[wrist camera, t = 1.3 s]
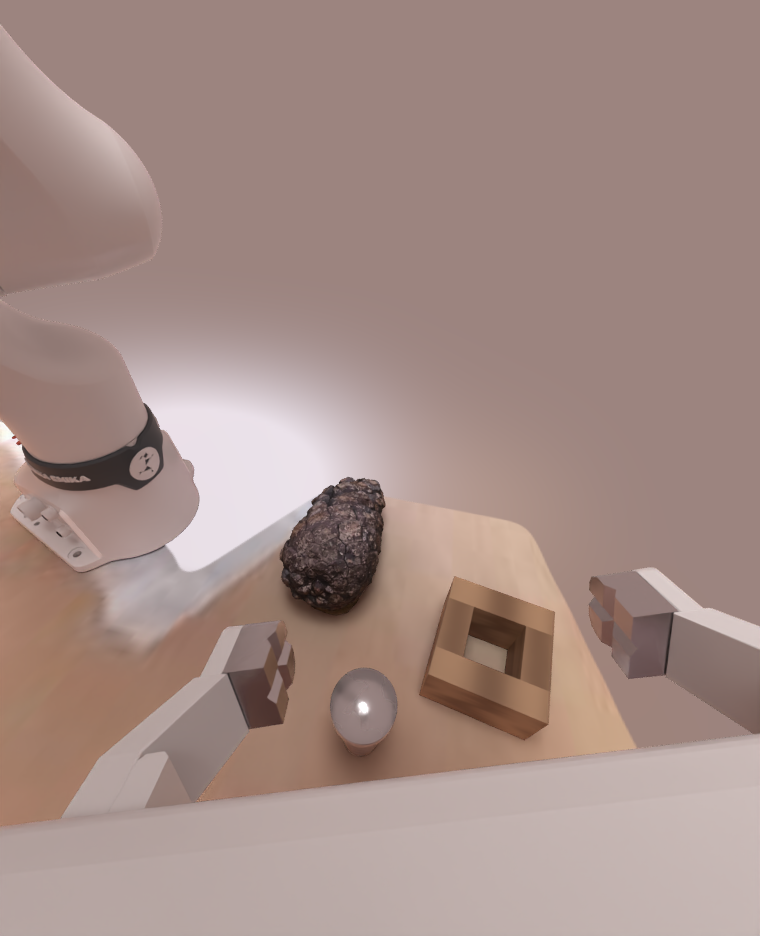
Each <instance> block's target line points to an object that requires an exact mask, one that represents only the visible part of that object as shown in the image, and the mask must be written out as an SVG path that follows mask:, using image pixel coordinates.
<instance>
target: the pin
mask: <svg viewBox="0 0 760 936" xmlns="http://www.w3.org/2000/svg"><path fill="white" fill-rule="evenodd" d="M330 710H331V719H332V723H333V726H334V728H335V730H336V732H337V733H338V735H339V736H340V737H341V738H342V739H343V740H344V744H345V746H346V748H347V749H348V751H349V752H350V753H352V754H354V755H356V756H365V755H367V754H369V753H370V752H372V751H373V749H374V748H375V747H376V745H377V744H378V743H379V742H381V741H382V740H383V739H384V738H385V737H386V736H387V735H388V733H389V732H390V730H391V728H392V727H393V724H394V721H395V718H396V714H397V697H396V693H395V690H394V688H393V686H392V684H391V682H390V681H389V680H388V679H387V677H385V676H384V675H383V674H382V673H380V672H379V671H377V670H374V669H370V668H358V669H355V670H352V671H350V672H348V673H347V674H345V675H344V676H343V677H342V678H341V679H340V680H339V681H338V683H337V684H336V686H335V688H334V690H333V693H332V697H331V703H330Z"/></svg>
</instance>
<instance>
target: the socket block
mask: <svg viewBox="0 0 760 936" xmlns="http://www.w3.org/2000/svg"><path fill="white" fill-rule="evenodd" d="M554 618H555V612H554V611H551V610H548V609H545V608H542V607H540V606H537V605H534V604H531V603H528V602H526V601H523V600H520V599H517V598H514V597H512V596H509V595H506V594H503V593H500V592H498V591H495V590H492V589H489V588H486V587H484V586H481V585H478V584H475V583H472V582H470V581H467V580H464V579H461V578H458V577H456V576H455V577H454V579H453V582H452V584H451V587H450V590H449V592H448V595H447V598H446V600H445V603H444V606H443V610H442V614H441V617H440V621H439V625H438V628H437V632H436V636H435V639H434V643H433V647H432V650H431V654H430V657H429V661H428V665H427V668H426V672H425V676H424V679H423V683H422V687H421V690H420V694H419V695H421V696H424V697H426V698H428V699H431V700H433V701H435V702H438V703H440V704H442V705H445V706H447V707H449V708H451V709H454V710H456V711H458V712H461V713H463V714H465V715H468V716H470V717H472V718H475V719H477V720H479V721H482V722H484V723H486V724H489V725H491V726H493V727H495V728H498V729H500V730H502V731H505V732H507V733H509V734H512V735H514V736H516V737H519V738H521V739H523V740H525V739H527V738H528V737H530V736H531V735H533V734H534V733H536V732H537V731H539V730H540V729H542V728H544V727H545V726H547V725H548V723H549V706H550V688H551V671H552V653H553V636H554ZM468 635H471V636H473V637H476V638H479V639H481V640H484V641H486V642H489V643H492V644H494V645H497V646H499V647H502V648H504V649H507V650H508V652H507V659H506V666H505V674H504V673H502V672H499V671H497V670H494V669H492V668H489V667H487V666H484V665H482V664H479V663H477V662H474V661H472V660H469V659H467V658H464V657H463V655H464V651H465V646H466V641H467V637H468Z"/></svg>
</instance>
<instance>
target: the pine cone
mask: <svg viewBox="0 0 760 936" xmlns="http://www.w3.org/2000/svg"><path fill="white" fill-rule="evenodd" d="M311 502H312V505H313V506H312V507H311V508H310V509H309V510H308V512H307V516H305V517H304V518H303V519H302V520H300V521H299V522H298V524H297V525H296V526H295V527H294V529H293V530H292V534H291V536H290V539H289V540H287V541H286V543H285V545H284V548H283V549H282V550H281V553H280V560H281V561H282V562H283V566H284V569H283V571H282V577H281V578H282V581H283V583H284V584H285V585H286V586H287V587H290V588H291V591H292V595H293V597H294V598H295V599H303V600H304V601H306V602H307V603H308V604H310V605H311V606H312V607H313V608H315V609H318V610H320V611H323V612H325V613H328V614H333V615H339V614H343V613H347V612H348V611H349V610H350V609H351V608H352V607H353V606H354V605H355V604H356V603H357V601H358V599H359V597H360V596H361V595H362V593H363V591H364V590H365V589H366V588H367V586H368V585H369V584H370V583H371V582H372V577H373V575H374V573H375V571H376V566H377V564H378V555H379V553H380V552H381V550H380V545H381V541H382V540H381V534H382V531H383V525H384V524H383V519H382V517H381V512H382V509H383V508H384V507H385V501H384V497H383V492H382V491H381V489H380V484H379V483H378V482H377V481H376V480H369V479H365V478H363V479H357V481H355V480H353V478H350V477H347V478H345V479H342V480H340V482H339V484H338V485H336V486H335V487H334V486H332V485H330V486H329V487H328V488H325V489H324V490H323V492H322V493H321V494H320V495H319V496H318V497H316V498H314V499H313V500H312V501H311Z"/></svg>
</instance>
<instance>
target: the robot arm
mask: <svg viewBox="0 0 760 936" xmlns="http://www.w3.org/2000/svg"><path fill="white" fill-rule="evenodd" d="M161 234H162V212H161V206H160V201H159V198H158V195H157V192H156V189H155V186H154V184H153V182H152V180H151V177H150V175H149V173H148V172H147V170H146V168H145V167H144V165H143V163H142V162H141V160H140V159H139V158H138V156H137V155H136V154H135V152H134V151H133V150H132V148H131V147H130V146H129V145H128V144H127V143H126V142H125V140H123V139H122V137H120V136H119V135H118V134H117V133H116V132H115V131H114V130H113V129H112V128H111V127H109V126H108V125H107V124H106V123H105V122H103V121H102V120H100V119H99V118H97V117H96V116H94V115H93V114H91V113H90V112H88V111H87V110H85V109H84V108H82V107H81V106H80V105H79V104H78V103H76V102H75V101H73V100H72V99H71V98H70V97H69V96H68V95H66V94H65V93H64V92H63V91H62V90H61V89H60V88H58V87H57V86H56V85H55V84H54V83H53V82H52V81H51V80H50V79H49V78H48V77H47V76H46V75H45V74H44V73H43V72H42V71H41V70H40V69H39V68H38V67H37V66H36V65H35V64H34V63H33V62H32V61H31V60H30V59H29V58H28V57H27V56H26V54H25V53H24V52H23V51H22V50H21V48H20V47H19V46H18V45H17V44H16V43H15V42H14V40H13V39H12V38H11V37H10V35H9V34H8V33H7V32H6V30H5V29H4V28H3V27H2V25H1V24H0V298H1V297H3V296H7V294H10V293H16V292H22V291H29V290H35V289H42V288H48V287H54V286H61V285H67V284H73V283H80V282H86V281H92V280H98V279H103V278H106V277H108V276H111V275H114V274H117V273H120V272H122V271H125V270H128V269H130V268H132V267H135V266H137V265H140V264H142V263H144V262H147V261H149V260H152V259H153V257H154V255H155V253H156V252H157V249H158V246H159V244H160V239H161ZM0 419H1V420H2V421H3V422H4V424H5V425H6V426H7V427H8V428H9V429H10V430H11V432H12V433H13V434H14V435H15V436H13V437H12V439H15V438H17V439H18V440H19V441H18V442H17V443H16V444H17V445H20V444H22V450H23V453H24V455H25V458H24V459H25V461H26V462H25V463H24V464H23V465H22V466H21V467H20V468H19V470H18V471H17V473H16V474H15V477H14V484H15V485H16V487H17V488H18V489H19V490H20V492H21V493H22V495H21V496H20V497H19V498H18V499H17V501H16V502H15V503H14V505H13V507H12V509H11V511H10V513H11V515H12V516H13V517H14V519H15V520H16V521H18V522H19V523H20V524H21V525H22V526H23V527H24V528H26V529H27V530H28V531H29V532H30V533H32V534H33V535H34V536H35V537H36V538H37V539H39V540H40V541H41V542H42V543H43V544H44V545H46V546H47V547H48V548H49V549H50V550H51V551H53V552H54V553H55V554H56V555H57V556H59V557H60V558H61V559H62V560H63V561H64V562H66V563H67V564H68V565H69V566H70V567H71V568H73V569H74V570H75V571H77V572H85V571H89V570H91V569H94V568H96V567H99V566H101V565H103V564H105V563H107V562H110V561H114V560H119V559H126V558H132V557H136V556H140V555H143V554H146V553H149V552H151V551H154V550H156V549H158V548H160V547H162V546H164V545H165V544H167V543H169V542H170V541H172V540H173V539H174V538H176V537H177V536H178V535H179V534H180V533H182V532H183V531H184V529H186V527H187V526H188V525H189V524H190V523H191V521H192V520H193V518H194V516H195V514H196V512H197V509H198V506H199V493H198V490H197V488H196V486H195V484H194V482H193V475H194V467H193V465H192V463H191V462H190V461H189V460H184V459H182V457H181V456H180V454H179V452H178V450H177V449H176V447H175V445H174V443H173V442H172V440H171V438H170V437H169V435H168V433H167V432H165V431H164V430H160V428H159V424H158V421H157V419H156V417H155V416H154V415H153V414H152V412H151V410H150V408H149V407H148V406H147V405H146V404H145V403H143V402H142V399H141V397H140V395H139V393H138V391H137V389H136V386H135V384H134V382H133V379H132V378H131V375H130V373H129V371H128V369H127V366H126V364H125V362H124V360H123V358H122V356H121V354H120V353H119V351H118V350H117V349H116V348H115V347H114V346H113V345H112V344H111V343H110V342H108V341H107V340H106V339H104V338H103V337H101V336H99V335H97V334H96V333H93V332H91V331H89V330H86V329H84V328H81V327H78V326H74V325H70V324H65V323H60V322H54V321H48V320H43V319H39V318H36V317H33V316H30V315H27V314H25V313H22V312H20V311H18V310H16V309H14V308H13V307H11V306H9V305H8V304H6V303H5V302H4V301H3V300H1V299H0ZM79 555H80V556H79ZM77 556H78V557H77ZM589 590H590V591H591V593H592V594H593V595H594V598H593V599H592V600H591V602H590V603H589V617H590V621H591V625H592V627H593V629H594V631H595V633H596V635H597V636H598V638H599V639H600V640H601V642H602V643H604V644H606V645H608V646H610V647H612V657H613V659H614V660H615V662H616V663H617V664H618V666H619V667H620V668H621V670H622V671H623V673H624V674H625V675H626V677H627V678H628V679H633V678H643V677H652V676H663V675H666V677H667V678H668V679H670V680H671V681H673V682H674V683H676V684H677V685H679V686H680V687H682V688H684V689H685V690H687V691H688V692H690V693H691V694H693V695H694V696H696V697H697V698H699V699H701V700H702V701H704V702H705V703H707V704H708V705H710V706H712V707H713V708H714V709H716V710H717V711H719V712H720V713H722V714H724V715H725V716H727V717H728V718H730V719H731V720H733V721H734V722H736V723H738V724H739V725H740V726H742V727H744V728H745V729H747V730H748V731H750V732H751V733H753V734H751V735H742V736H735V737H727V738H718V739H710V740H702V741H693V742H685V743H677V744H668V745H661V746H652V747H644V748H636V749H628V750H619V751H611V752H603V753H595V754H587V755H578V756H570V757H562V758H554V759H546V760H538V761H529V762H521V763H513V764H505V765H497V766H489V767H480V768H472V769H464V770H456V771H448V772H439V773H431V774H423V775H415V776H407V777H398V778H390V779H382V780H374V781H366V782H358V783H349V784H341V785H333V786H325V787H317V788H309V789H300V790H292V791H284V792H276V793H268V794H260V795H251V796H243V797H235V798H227V799H219V800H211V801H202V802H196V801H197V799H198V798H199V797H200V795H201V794H202V793H203V791H204V790H205V789H206V788H207V786H208V785H209V784H210V782H211V781H212V780H213V778H214V777H215V776H216V774H217V773H218V772H219V770H220V769H221V768H222V767H223V765H224V764H225V763H226V761H227V760H228V759H229V757H230V756H231V755H232V753H233V752H234V751H235V749H236V748H237V747H238V746H239V744H240V743H241V742H242V740H243V739H244V738H245V736H246V735H247V734H248V732H249V729H254V728H260V727H266V726H272V725H278V724H283V722H284V717H285V713H286V709H287V705H288V700H289V698H288V695H287V692H286V690H287V689H288V688H289V687H290V685H291V684H292V683H293V678H294V673H295V659H294V652H293V649H292V645H291V644H289V643H288V642H287V641H285V639H286V636H287V629H286V626H285V623H284V622H283V621H281V620H280V621H271V622H263V623H254V624H246V625H240V626H232V627H227V628H226V629H224V630H223V632H222V634H221V636H220V638H219V640H218V642H217V644H216V646H215V648H214V650H213V652H212V654H211V656H210V658H209V660H208V662H207V664H206V666H205V668H204V670H203V672H202V674H201V676H200V677H198V678H193V679H192V680H191V681H190V682H189V683H188V684H186V685H185V686H184V687H183V688H182V689H180V690H179V691H178V692H177V693H176V694H174V695H173V696H172V697H171V698H170V699H168V700H167V701H166V702H165V703H164V704H163V705H161V706H160V707H159V708H158V709H157V710H155V711H154V712H153V713H152V714H151V715H149V716H148V717H147V718H146V719H145V720H144V721H142V722H141V723H140V724H139V725H138V726H136V727H135V728H134V729H133V730H132V731H130V732H129V733H128V734H127V735H126V736H124V737H123V738H122V739H121V740H120V741H119V742H117V743H116V744H115V745H114V746H113V747H111V748H110V749H109V750H108V751H107V752H105V753H104V754H103V755H102V756H101V757H100V758H99V759H98V760H97V762H96V763H95V765H94V767H93V768H92V770H91V771H90V773H89V774H88V776H87V778H86V779H85V781H84V782H83V784H82V785H81V787H80V788H79V790H78V792H77V793H76V795H75V796H74V798H73V799H72V801H71V803H70V804H69V806H68V807H67V809H66V810H65V812H64V813H63V815H62V817H61V818H60V819H56V820H48V821H40V822H31V823H23V824H15V825H7V826H0V936H760V627H759V626H757V625H754V624H752V623H749V622H746V621H743V620H741V619H738V618H736V617H733V616H730V615H728V614H725V613H722V612H720V611H717V610H714V609H712V608H705V609H703V608H702V607H701V606H700V605H699V604H697V603H696V602H695V601H694V600H693V599H691V598H690V597H689V596H688V595H687V594H685V593H684V592H683V591H682V590H681V589H680V588H679V587H677V586H676V585H675V584H674V583H673V582H672V581H670V580H669V579H668V578H667V577H666V576H664V575H663V574H662V573H661V572H660V571H659V570H657V569H655V568H652V567H649V568H643V569H637V570H631V571H627V572H621V573H614V574H608V575H600V576H593V577H591V580H590V582H589Z"/></svg>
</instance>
